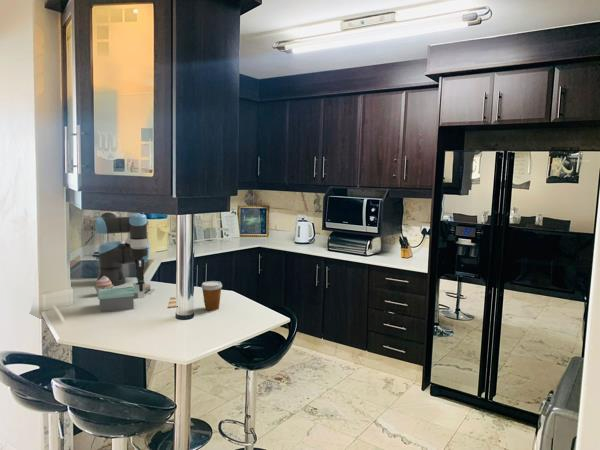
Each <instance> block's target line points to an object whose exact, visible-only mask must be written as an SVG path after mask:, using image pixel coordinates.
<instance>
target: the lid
mask: <svg viewBox="0 0 600 450" xmlns="http://www.w3.org/2000/svg"><path fill="white" fill-rule="evenodd" d="M136 283H138V281H137V280H134V281H133V286H125V287H113V288H111V289H99V293H98V295H97V300H99V299H108V298H119V297H130V296H134V293H138V285H136ZM145 284H146V280H144V293H145Z"/></svg>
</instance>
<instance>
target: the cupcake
mask: <svg viewBox="0 0 600 450" xmlns="http://www.w3.org/2000/svg"><path fill="white" fill-rule="evenodd" d="M93 288H94V289H95V291H96V293H97V296H98V293H99V289H111V288H114V285H112V282H111V281H110V280H109V278H107V277H105V276H103V277H101V279H100V280H98V281H97V280H96V284H95V286H94V287H93Z"/></svg>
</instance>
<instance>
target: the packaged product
mask: <svg viewBox="0 0 600 450" xmlns="http://www.w3.org/2000/svg"><path fill="white" fill-rule="evenodd" d="M155 291H156V289H155V288H151V284H150V283H145V293H144V298H145V297H147V296H148V295H149V296H150V295H152V294H154V293H155ZM133 299H142V298H138V293H134V296H133Z"/></svg>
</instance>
